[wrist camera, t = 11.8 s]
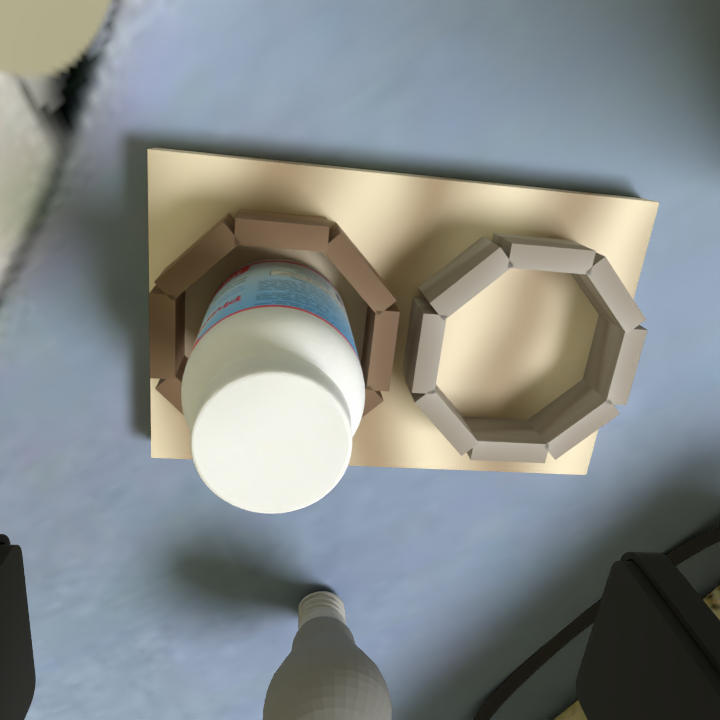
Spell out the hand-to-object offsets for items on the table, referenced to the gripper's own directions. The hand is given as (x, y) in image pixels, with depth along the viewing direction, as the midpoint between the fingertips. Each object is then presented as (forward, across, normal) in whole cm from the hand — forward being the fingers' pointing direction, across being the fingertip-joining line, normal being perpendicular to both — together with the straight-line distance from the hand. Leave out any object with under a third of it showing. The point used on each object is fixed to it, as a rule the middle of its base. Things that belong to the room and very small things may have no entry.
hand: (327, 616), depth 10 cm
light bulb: (+21, -2, +19) cm, 28 cm away
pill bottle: (+19, +1, +2) cm, 19 cm away
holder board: (+21, -4, +2) cm, 21 cm away
